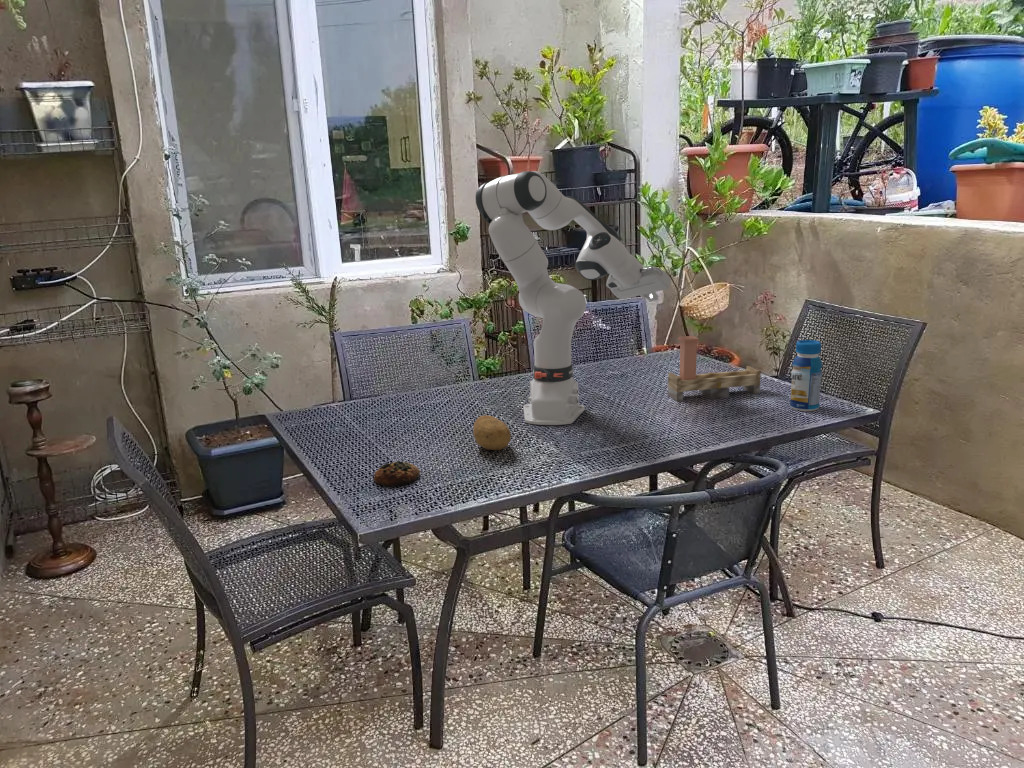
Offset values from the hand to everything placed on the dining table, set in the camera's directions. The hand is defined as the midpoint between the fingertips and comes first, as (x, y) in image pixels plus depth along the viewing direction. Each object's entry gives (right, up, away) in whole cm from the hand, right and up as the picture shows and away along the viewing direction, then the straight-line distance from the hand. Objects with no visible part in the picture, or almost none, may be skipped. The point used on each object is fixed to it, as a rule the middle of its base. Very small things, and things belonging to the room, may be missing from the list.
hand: (654, 299), depth 238 cm
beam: (+19, -30, -1) cm, 36 cm away
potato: (-51, -44, -41) cm, 79 cm away
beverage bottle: (+41, -34, -18) cm, 56 cm away
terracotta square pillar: (+10, -26, -4) cm, 28 cm away
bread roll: (-73, -50, -58) cm, 106 cm away
